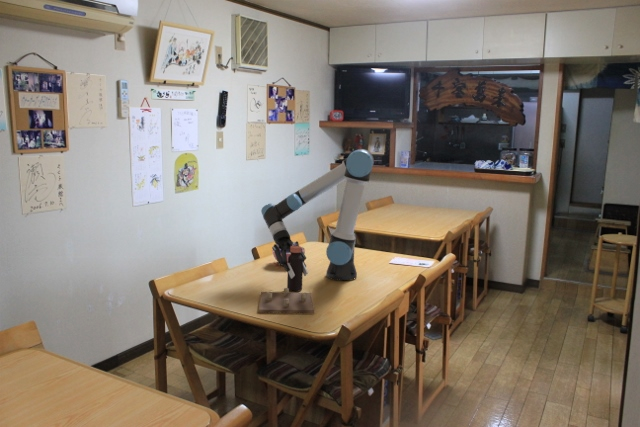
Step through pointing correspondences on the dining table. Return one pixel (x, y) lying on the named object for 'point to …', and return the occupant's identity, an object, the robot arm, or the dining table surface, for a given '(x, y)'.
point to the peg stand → (285, 302)
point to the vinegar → (295, 269)
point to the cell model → (287, 253)
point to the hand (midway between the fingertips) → (299, 275)
